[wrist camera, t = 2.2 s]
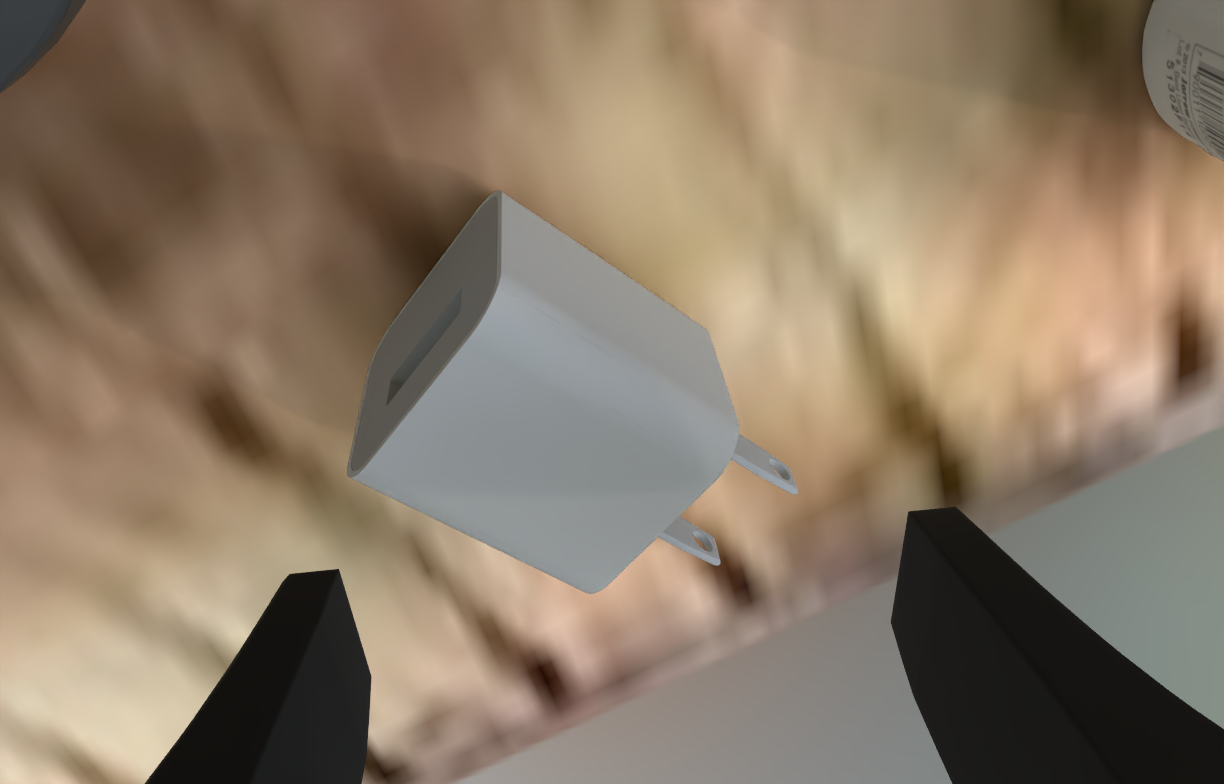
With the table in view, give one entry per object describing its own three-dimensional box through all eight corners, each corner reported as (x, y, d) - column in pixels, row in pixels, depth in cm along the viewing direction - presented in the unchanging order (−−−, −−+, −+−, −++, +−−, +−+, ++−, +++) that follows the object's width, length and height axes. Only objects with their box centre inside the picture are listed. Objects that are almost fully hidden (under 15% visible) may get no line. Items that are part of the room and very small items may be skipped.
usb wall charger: (501, 176, 16) (501, 298, 12) (803, 380, 19) (868, 523, 15) (372, 349, 17) (340, 497, 14) (668, 513, 20) (699, 668, 17)
